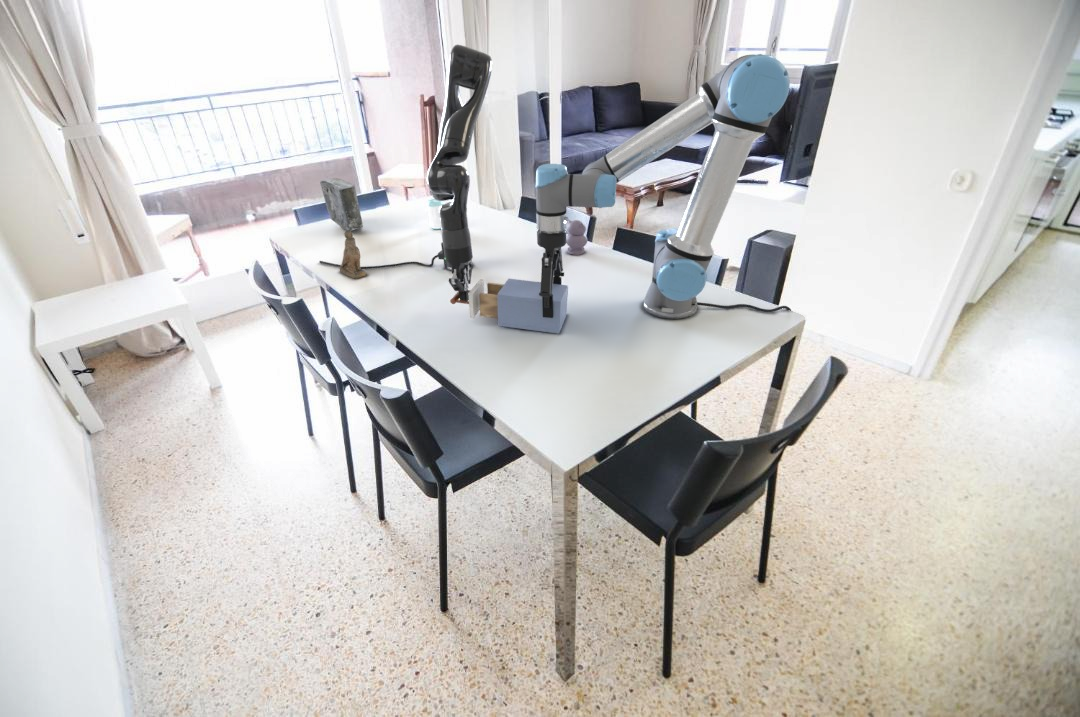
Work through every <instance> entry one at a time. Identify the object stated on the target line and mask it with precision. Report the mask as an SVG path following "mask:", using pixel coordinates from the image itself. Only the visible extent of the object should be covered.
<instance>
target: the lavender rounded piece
mask: <svg viewBox="0 0 1080 717" xmlns="http://www.w3.org/2000/svg"><path fill="white" fill-rule="evenodd" d="M566 223H567V226H566V231H567V233H568V234H566V245H567V246H568V247H567V253H568V254H569V255H573V256H578V255H582V254H584V253H585V247H586V245H587V243H588V237H587V235H586V234H585V233H586V230H587V226H586V224H585V223H584V222H583V221H582V220H578V219H574V220H568V221H566Z"/></svg>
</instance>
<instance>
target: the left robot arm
mask: <svg viewBox="0 0 1080 717" xmlns="http://www.w3.org/2000/svg"><path fill="white" fill-rule="evenodd" d="M492 71H493V60H492V57H491V55H489V54H487V53H485V52H483V51H480V50H477V49H474V48H472V47H468V46H465V45H462V44H455V45H454V46H453V47H452V48H451V50H450V53H449V57H448V64H447V72H446V83H445V84H446V85H445V95H444V96H445V97H444V105H443V111H442V115H441V121H440V127H439V133H438V143H437V150H436V155H435V157H434V158H433V160H432V162H431V164H430V166H429V168H428V170H427V175H426V182H427V186H428V188H429V190H430V193H431V196H432V197H433V198H432V199H435V200H437V201H442V202H446V203H443V205H441V206H440V208H439V214H440V223H441V229H440V230H441V240H442V242H441V243H440V246H441V250H440V251H439V252H437V254H436V255H434V256H433V257H432V258H431V261H430V262H431V263H430V264H424V263H422V262H419V261H405V262H398V263H391V264H390V263H389V264H384V265H371V266H368V265H367V266H360V268H361V269H362V270H370V269H382V268H383V269H384V268H391V267H399V266H404V265H405V266H406V265H412V264H413V265H419V266H423V267H427V268H428V267H430V268H431V267H433V265H434V262H435V260H436V259H438V260H442V261H443V267H444V269H445V270H449V271H451V275H452V276H451V277H449V278H448V283H449V285H450V286H451V288H452V289H453V291H454V292H458V291H459V296H460V298H459V300H462V301H469V293H468V290H469V288H470V285H471V282H472V273H473V257H474V256H473V248H472V238H471V232H470V228H469V222H468V220H469V219H468V214H467V213H468V197H469V191H470V184H471V178H470V177H471V176H470V174H469V172H468V170H467V168H466V167H464V166H463V165H460V164H461V163H464V162H465V161H467V159H468V156H469V154H470V148H471V144H472V140H473V139H472V138H473V134H474V130H475V128H476V124H477V121H478V117H479V116H480V112H481V110H482V107H483V104H484V100H485V98H486V94H487V91H488V87H489V85H490V80H491V77H492ZM460 87H461V88H465V89H468V90H471V91H472V92H473V93H472V94H471V96H470V98H469V99H468V100H467V101H466V102H465V103H464V102H463V100H462V96H461V92H460ZM447 201H449V202H447ZM318 263H320V264H323V265H327V266H332V267H337V268H340V266H341V264H337V263H332V262H327V261H323V260H319V262H318Z"/></svg>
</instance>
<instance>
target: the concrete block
mask: <svg viewBox="0 0 1080 717" xmlns="http://www.w3.org/2000/svg"><path fill="white" fill-rule="evenodd" d="M319 183H320V187H321V191H322V195H323V198H324V199H323V200H324V202H325V206H326V209H327V212H328V216H329V218H330V220H332V221H333V222H334V223H336V224H337V225H338V226H339V227H341V228H342V229H343V230H345V231H348V230H350V231H352V232H353V231H354V230H358V229H361V228H363V227H364V224H363V218H362V214H361V210H360V205H359V204H360V203H359V200H358V195H357V194H358V193H357V189H356V186H355V185H354V184H353V183H351V182H350V181H347V180H345V179H341V178H336V177H332V178H327V179H322V180H320V182H319Z"/></svg>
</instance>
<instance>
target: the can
mask: <svg viewBox="0 0 1080 717" xmlns="http://www.w3.org/2000/svg"><path fill="white" fill-rule="evenodd" d="M443 204H444V201H437V200H435V199H434V198H432V199H428V201H427V204H426V207H427V211H428V212H427V213H428V219H429V226H430V228H431V229H433V230H442V229H441V223H440V214H439V208H440V206H441V205H443Z"/></svg>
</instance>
